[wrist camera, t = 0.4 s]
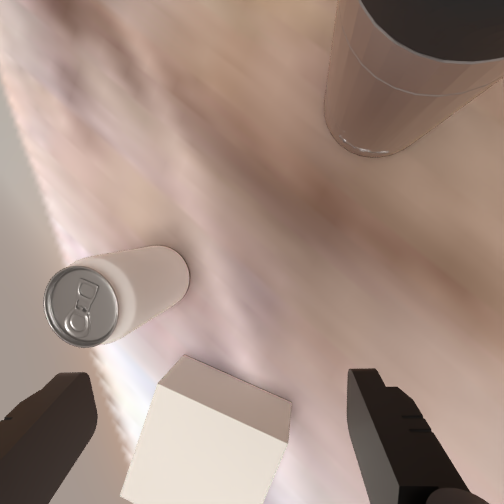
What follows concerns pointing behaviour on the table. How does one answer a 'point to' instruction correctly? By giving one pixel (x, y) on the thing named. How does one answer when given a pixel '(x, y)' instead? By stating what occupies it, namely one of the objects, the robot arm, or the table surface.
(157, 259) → the can
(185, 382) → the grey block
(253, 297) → the table surface
